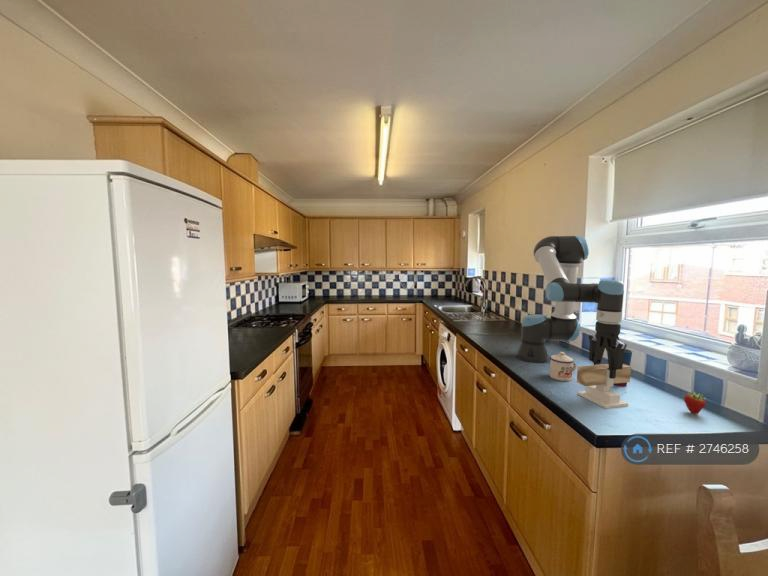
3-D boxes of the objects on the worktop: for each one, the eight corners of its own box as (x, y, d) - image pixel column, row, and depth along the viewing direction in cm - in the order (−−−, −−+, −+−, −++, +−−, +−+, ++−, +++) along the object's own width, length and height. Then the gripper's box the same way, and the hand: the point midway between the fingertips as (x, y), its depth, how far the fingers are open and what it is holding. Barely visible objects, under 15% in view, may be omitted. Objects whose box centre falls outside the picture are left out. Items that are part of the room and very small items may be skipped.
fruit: (699, 418, 104) (702, 395, 103) (679, 411, 109) (681, 389, 108) (707, 415, 106) (709, 393, 105) (687, 408, 111) (689, 387, 110)
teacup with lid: (559, 382, 134) (560, 356, 132) (544, 374, 142) (546, 349, 141) (583, 380, 136) (585, 354, 135) (567, 373, 145) (568, 348, 144)
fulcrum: (577, 394, 122) (579, 376, 121) (598, 392, 124) (600, 375, 123) (605, 408, 110) (607, 389, 110) (628, 405, 112) (629, 387, 112)
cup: (632, 388, 128) (636, 352, 127) (614, 386, 130) (617, 351, 128) (623, 381, 135) (626, 348, 134) (606, 380, 136) (608, 347, 135)
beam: (576, 381, 116) (577, 366, 116) (619, 378, 120) (620, 362, 120) (585, 386, 112) (586, 369, 112) (629, 382, 116) (631, 366, 116)
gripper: (580, 318, 122) (576, 375, 124) (622, 327, 105) (616, 393, 107) (596, 317, 123) (591, 374, 125) (639, 326, 107) (634, 392, 109)
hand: (603, 383), depth 116 cm, fingers closed on beam, 4 cm apart
